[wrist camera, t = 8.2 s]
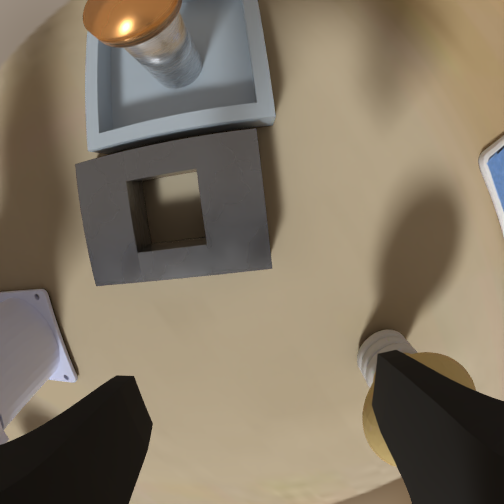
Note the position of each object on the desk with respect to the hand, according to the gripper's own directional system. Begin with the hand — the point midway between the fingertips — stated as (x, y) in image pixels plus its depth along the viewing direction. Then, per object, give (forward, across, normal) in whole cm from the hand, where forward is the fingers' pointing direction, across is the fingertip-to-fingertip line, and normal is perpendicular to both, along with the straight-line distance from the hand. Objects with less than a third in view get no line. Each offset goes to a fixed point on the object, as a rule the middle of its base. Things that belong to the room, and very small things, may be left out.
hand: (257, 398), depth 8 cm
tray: (+10, +3, -14) cm, 18 cm away
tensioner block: (+10, +4, -5) cm, 12 cm away
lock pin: (+10, +3, -13) cm, 17 cm away
